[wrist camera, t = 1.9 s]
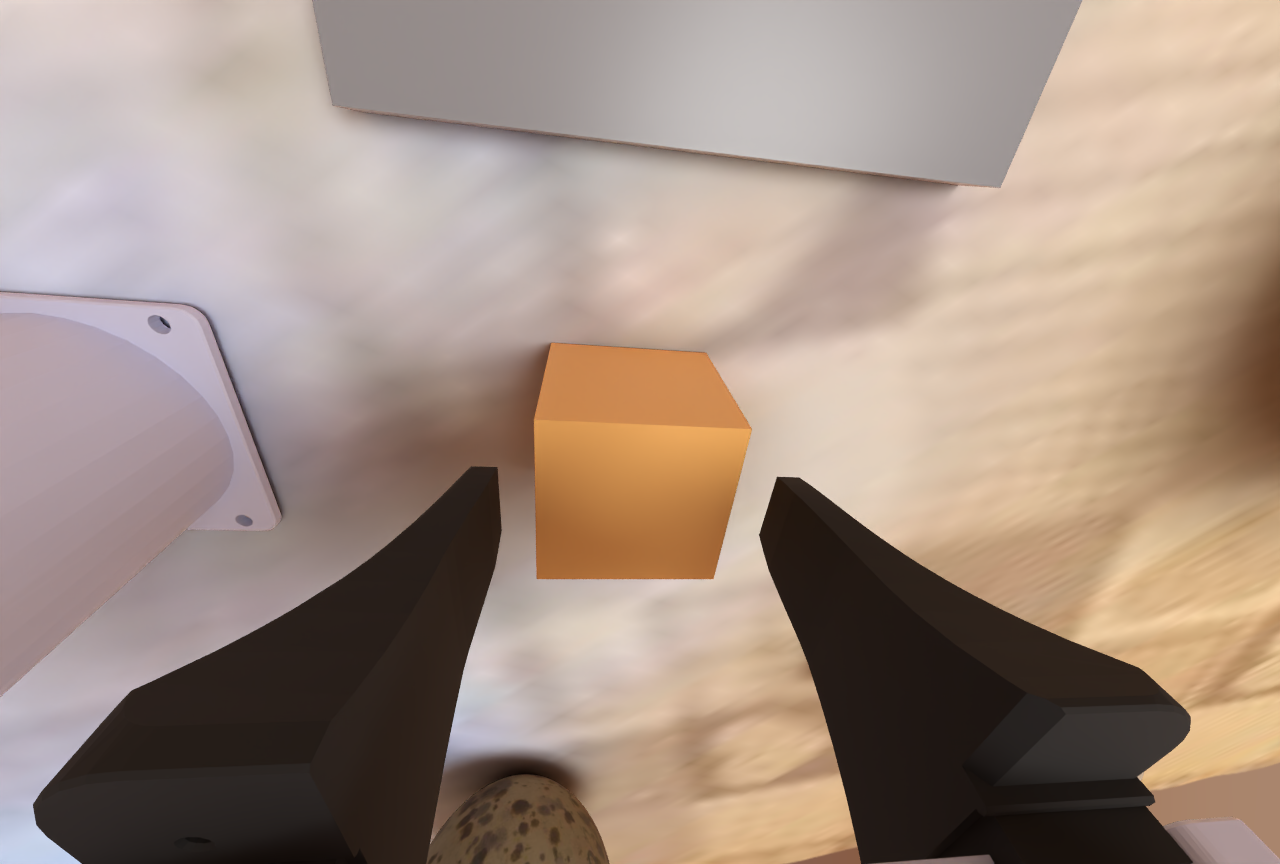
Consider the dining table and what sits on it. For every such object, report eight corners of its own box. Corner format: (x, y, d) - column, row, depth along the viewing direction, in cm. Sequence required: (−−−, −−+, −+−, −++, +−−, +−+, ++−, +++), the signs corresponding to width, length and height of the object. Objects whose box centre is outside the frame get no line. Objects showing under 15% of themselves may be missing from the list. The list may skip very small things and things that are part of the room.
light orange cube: (550, 472, 17) (536, 578, 13) (551, 342, 14) (534, 419, 10) (683, 476, 17) (713, 579, 13) (706, 353, 15) (751, 429, 11)
